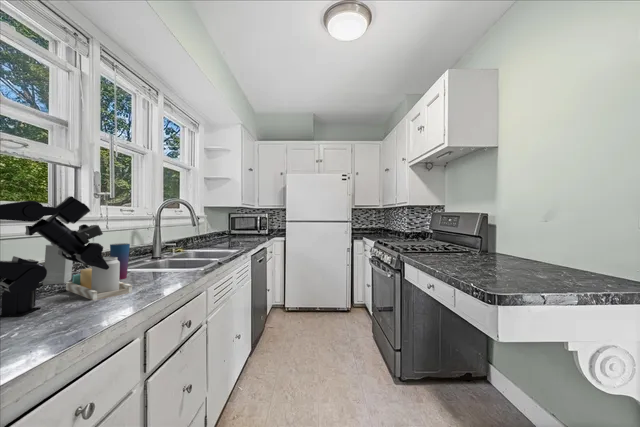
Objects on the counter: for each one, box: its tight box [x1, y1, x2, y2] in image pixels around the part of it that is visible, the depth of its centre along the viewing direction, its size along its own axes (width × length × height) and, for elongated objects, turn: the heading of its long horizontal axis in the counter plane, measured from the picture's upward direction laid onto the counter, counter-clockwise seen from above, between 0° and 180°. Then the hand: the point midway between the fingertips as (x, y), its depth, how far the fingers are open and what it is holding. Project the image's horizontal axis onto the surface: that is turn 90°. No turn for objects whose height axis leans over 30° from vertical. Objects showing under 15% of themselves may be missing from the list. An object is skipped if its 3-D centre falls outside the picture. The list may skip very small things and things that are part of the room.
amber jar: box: [80, 267, 92, 289], centre depth 101 cm, size 7×7×7 cm
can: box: [91, 256, 120, 294], centre depth 95 cm, size 8×8×12 cm
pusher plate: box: [72, 274, 80, 285], centre depth 103 cm, size 1×8×5 cm, turn 148°
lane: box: [65, 281, 133, 301], centre depth 98 cm, size 22×11×3 cm, turn 58°
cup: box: [109, 242, 131, 281], centre depth 118 cm, size 7×7×15 cm
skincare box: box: [42, 243, 74, 287], centre depth 111 cm, size 8×7×16 cm
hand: (101, 267), depth 94 cm, fingers open, 9 cm apart
